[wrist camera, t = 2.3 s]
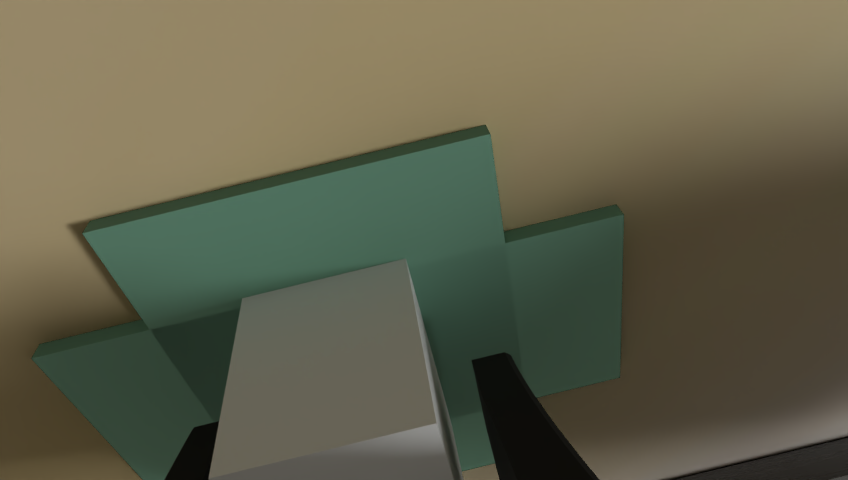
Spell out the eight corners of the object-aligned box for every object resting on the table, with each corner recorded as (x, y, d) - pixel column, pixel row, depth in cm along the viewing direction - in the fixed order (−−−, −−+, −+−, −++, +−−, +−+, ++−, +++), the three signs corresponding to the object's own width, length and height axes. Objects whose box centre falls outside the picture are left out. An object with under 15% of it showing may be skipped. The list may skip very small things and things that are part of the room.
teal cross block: (606, 83, 9) (768, 224, 6) (605, 407, 15) (691, 581, 11) (-27, 237, 9) (-234, 467, 6) (200, 505, 15) (161, 710, 11)
